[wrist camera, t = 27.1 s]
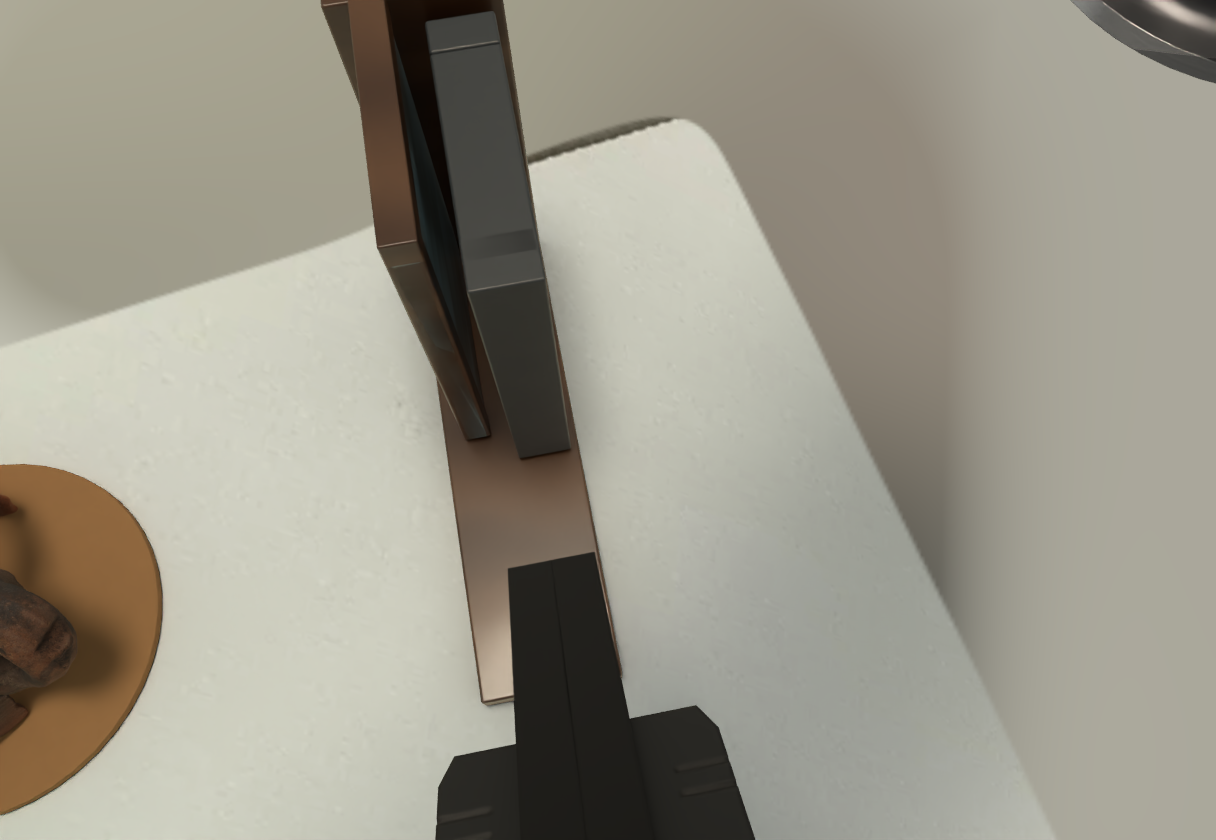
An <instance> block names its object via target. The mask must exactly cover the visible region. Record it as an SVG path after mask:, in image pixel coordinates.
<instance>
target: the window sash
mask: <svg viewBox="0 0 1216 840" xmlns="http://www.w3.org/2000/svg"><path fill="white" fill-rule="evenodd" d="M425 30H426V36H427V42H428V49H429V54H430V62H431V68H432V74H433V81H434V87H435V93H436V100H437V106H438V113H439V119H440V125H441V132H442V138H443V144H444V151H445V157H446V164H447V170H448V176H449V183H450V189H451V195H452V202H453V208H454V215H455V221H456V227H457V234H458V240H459V247H460V253H461V260H462V266H463V272H464V279H465V285H466V291H467V295H468V298H469V301H470V304H471V308H472V311H473V314H474V317H475V320H476V323H477V327H478V330H479V333H480V336H481V339H482V342H483V345H484V349H485V352H486V355H487V358H488V361H489V364H490V368H491V371H492V374H493V377H494V380H495V383H496V387H497V390H498V393H499V396H500V399H501V402H502V405H503V409H504V412H505V415H506V418H507V421H508V424H509V428H510V431H511V434H512V437H513V440H514V443H515V446H516V450H517V453H518V456H519V458H524V457H529V456H535V455H540V454H546V453H551V452H556V451H562V450H567V449H570V448H571V443H570V436H569V430H568V423H567V416H566V410H565V403H564V396H563V389H562V383H561V376H560V369H559V363H558V356H557V349H556V343H555V336H554V329H553V322H552V316H551V309H550V302H549V296H548V289H547V282H546V276H545V271H544V266H543V261H542V255H541V250H540V245H539V240H538V234H537V229H536V224H535V219H534V214H533V209H532V203H531V198H530V193H529V188H528V182H527V177H526V172H525V167H524V162H523V156H522V151H521V146H520V141H519V135H518V130H517V125H516V120H515V115H514V109H513V104H512V99H511V94H510V89H509V83H508V78H507V73H506V68H505V62H504V57H503V52H502V47H501V42H500V36H499V31H498V26H497V21H496V16H495V13H494V12H493V11H487V12H481V13H475V14H469V15H462V16H456V17H450V18H443V19H437V20H431V21H427V22H426V23H425Z"/></svg>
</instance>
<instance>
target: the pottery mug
mask: <svg viewBox="0 0 1216 840" xmlns="http://www.w3.org/2000/svg"><path fill="white" fill-rule="evenodd" d="M17 510H18V508H17V506H15V505H14V504H12V502H11V500H10V498H9V497H7V496H5V495H1V494H0V516H5V515H8V514H12V513H14V512H16V511H17ZM77 651H78V648H77V634H76V631H75V629H74V627H73V626H72V624H71V623H70V622H69V621H68V620H67V618H66V617H65V616H64V615H63V614H62V613H61V612H60V611H59V610H58V609H57V608H55V607H54V606H53V605H52V604H50V603H49V602H48V601H46V600H45V599H43V598H41V597H40V596H38V595H36V594H34V593H32V592H29V591H27V590H26V589H25V588H24V587H23V586H22V585H21V584H20V583H19V582H18V581H17V580H16V578H15V576H14V575H13V574H11V573H10V572H8V571H6V570H2V569H0V737H2V736H3V735H5V734H6V733H8V732H9V731H10V730H11V729H13V728H14V727H15V726H16V725H17V724H18V723H20V722H21V721H22V720H23V719H24V718H25V717H26V716H27V714H28V710H27V708H26V707H25V706H23V705H22V704H20V703H16V702H15V700H14V699H13V698H12V697H10V696H9V695H10V694H14V693H18V692H20V691H23V690H25V689H26V688H30V687H38V688H41V687H46V686H48V685H50V684H51V683H52V682H54V681H56V680H57V679H59V678H61V677H63V676H64V675H65V674H66V673H67V672H68V670H69V667H70V665H71V663H72V662H73V661H74V659H75V658H76V655H77Z"/></svg>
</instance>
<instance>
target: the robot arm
mask: <svg viewBox="0 0 1216 840" xmlns="http://www.w3.org/2000/svg"><path fill="white" fill-rule="evenodd" d="M508 587H509V608H510V629H511V650H512V671H513V692H514V712H515V733H516V744H514V745H509V746H504V747H499V748H494V749H489V750H484V751H479V752H475V753H470V754H465V755H460V756H455V757H454V758H453V760H452V762H451V764H450V766H449V768H448V770H447V772H446V773H445V775H444V777H443V779H442V781H441V783H440V785H439V787H438V803H437V825H436V840H755V837H754V834H753V831H752V828H751V825H750V822H749V819H748V816H747V813H746V810H745V807H744V804H743V801H742V797H741V794H740V791H739V788H738V786H737V784H736V779H735V776H734V773H733V770H732V767H731V764H730V762H729V759H728V755H727V752H726V749H725V746H724V743H723V740H722V736H721V733H720V730H719V727H718V726H717V725H716V724H715V723H714V722H713V721H712V720H711V719H710V718H709V717H708V716H707V715H706V714H705V713H704V712H703V711H702V710H701V709H699V708H698V707H697V706H696V705H695V706H690V707H685V708H680V709H675V710H670V711H665V712H660V713H656V714H651V715H646V716H641V717H636V718H631V719H630V718H629V713H628V709H627V704H626V699H625V694H624V689H623V685H622V680H621V675H620V670H619V665H618V661H617V656H616V651H615V646H614V641H613V636H612V632H611V627H610V622H609V617H608V612H607V608H606V603H605V598H604V593H603V588H602V584H601V579H600V574H599V569H598V564H597V560H596V555H595V552H590V553H585V554H580V555H575V556H569V557H564V558H559V559H554V560H549V561H543V562H538V563H533V564H528V565H523V566H518V567H512V568H508Z"/></svg>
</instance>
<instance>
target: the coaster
mask: <svg viewBox="0 0 1216 840" xmlns="http://www.w3.org/2000/svg"><path fill="white" fill-rule="evenodd" d="M0 494H1V495H5V496H7V497H9V498H10V500H11V502H12V504H14V505H15V506H17V508H18V510H17V511H16V512H14V513H12V514H8V515H5V516H0V569H2V570H6V571H8V572H10V573H11V574H13V575H14V576H15V578H16V580H17V581H18V582H19V583H20V584H21V585H22V586H23V587H24V588H25V589H26V590H27V591H29V592H32V593H34V594H36V595H38V596H40V597H41V598H43V599H45V600H46V601H48V602H49V603H50V604H52V605H53V606H54V607H55V608H57V609H58V610H59V611H60V612H61V613H62V614H63V615H64V616H65V617H66V618H67V620H68V621H69V622H70V623H71V624H72V626H73V627H74V629H75V631H76V634H77V648H78V651H77V655H76V658H75V659H74V661H73V662H72V663H71V665H70V667H69V670H68V672H67V673H66V674H65V675H64V676H63V677H61V678H59V679H57V680H56V681H54V682H52V683H51V684H50V685H48V686H46V687H41V688H38V687H30V688H26V689H25V690H23V691H20V692H18V693H14V694H10V695H9V696H10V697H12V698H13V699H14V700H15V702H16V703H20V704H22V705H23V706H25V707H26V708H27V710H28V714H27V716H26V717H25V718H24V719H23V720H22V721H21V722H20V723H18V724H17V725H16V726H15V727H14V728H13V729H11V730H10V731H9V732H8V733H6V734H5V735H3V736H2V737H0V815H2V814H5V813H8V812H11V811H13V810H15V809H18V808H20V807H22V806H24V805H27V804H29V803H31V802H33V801H35V800H37V799H39V798H40V797H42V796H44V795H45V794H47V793H49V792H50V791H52V790H54V789H55V788H57V787H58V786H60V785H61V784H62V783H64V782H65V781H66V780H68V779H69V778H70V777H71V776H73V775H74V774H75V773H77V772H78V771H79V770H80V769H81V768H83V767H84V766H85V765H86V764H87V763H88V762H89V761H90V760H91V759H92V758H93V757H94V756H95V755H96V754H97V753H98V752H99V751H100V750H101V749H102V748H103V747H104V745H105V744H106V743H107V742H108V741H109V740H110V738H111V737H112V736H113V735H114V734H115V732H116V731H117V730H118V728H119V727H120V725H121V724H122V722H123V721H124V720H125V718H126V717H127V715H128V714H129V712H130V711H131V709H132V707H133V705H134V704H135V702H136V700H137V698H138V696H139V694H140V692H141V690H142V688H143V686H144V684H145V681H146V679H147V676H148V674H149V671H150V669H151V666H152V663H153V660H154V656H155V652H156V648H157V644H158V641H159V634H160V627H161V619H162V590H161V583H160V576H159V570H158V567H157V563H156V560H155V556H154V553H153V550H152V548H151V546H150V544H149V542H148V539H147V537H146V535H145V533H144V531H143V530H142V528H141V527H140V525H139V524H138V522H137V521H136V519H135V518H134V516H133V515H132V514H131V513H130V512H129V511H128V510H127V509H126V508H125V507H124V506H123V504H122V503H121V502H120V501H118V500H117V499H116V498H115V497H113V496H112V495H111V494H110V493H108V492H107V491H106V490H104V489H103V488H101V487H99V486H97V485H96V484H94V483H92V482H90V481H88V480H87V479H85V478H83V477H80V476H78V475H75V474H72V473H70V472H67V471H64V470H60V469H56V468H51V467H47V466H38V465H27V464H16V465H0Z"/></svg>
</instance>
